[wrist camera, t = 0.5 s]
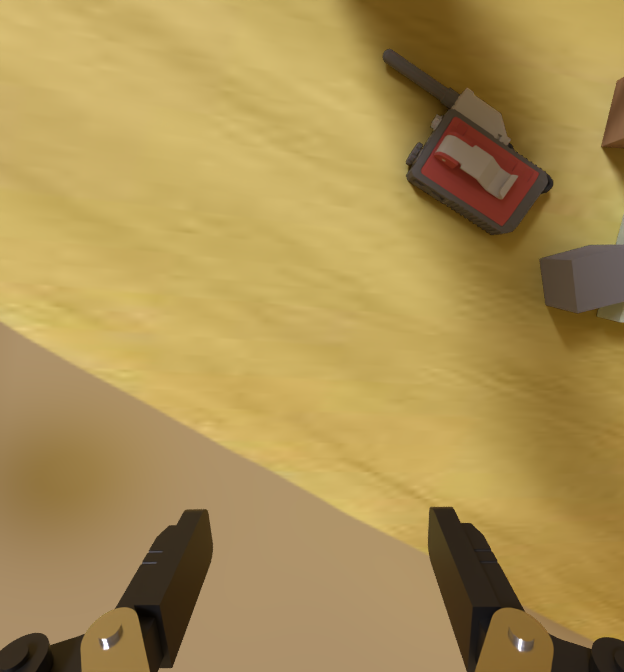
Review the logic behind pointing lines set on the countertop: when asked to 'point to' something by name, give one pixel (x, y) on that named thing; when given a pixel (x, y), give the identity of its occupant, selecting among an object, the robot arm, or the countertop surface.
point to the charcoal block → (584, 278)
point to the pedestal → (618, 310)
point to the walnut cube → (615, 119)
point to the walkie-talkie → (471, 158)
